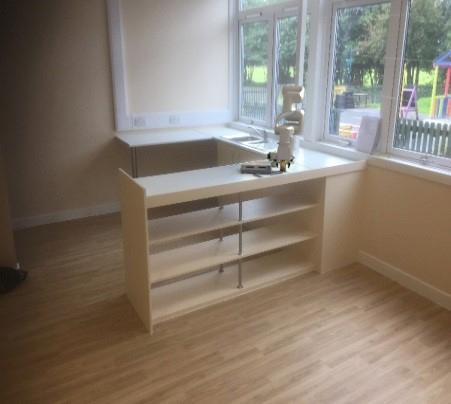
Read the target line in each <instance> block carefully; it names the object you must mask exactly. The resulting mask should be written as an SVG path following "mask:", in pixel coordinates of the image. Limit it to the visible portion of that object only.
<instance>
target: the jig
mask: <svg viewBox="0 0 451 404" xmlns="http://www.w3.org/2000/svg"><path fill="white" fill-rule="evenodd" d="M272 171H273V170H272V166H271V164H270V165H269V164H268V165H267V164H266V165H265V164H263V165H262V164H240V174H244V175H245V174H246V175H248V174H249V175H251V174H252V175H256V174H255V173H260V174H259V175H272V174H273V172H272Z"/></svg>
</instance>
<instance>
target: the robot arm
mask: <svg viewBox="0 0 451 404" xmlns="http://www.w3.org/2000/svg"><path fill="white" fill-rule="evenodd" d="M281 96H282V98H283V99H282V107H281V109H282V110H281V112H280V113H279V114H278V115H277V116H276V118H275V120H274V127H273V128H274V131H273V132H274V135H276V136H279V137H278V139H279V140H278V141H277V142H276V145H277V150H276V152H277V154H276V155H274V156H273V157H272V158H273V159H274V161H275V162H276V169H279V163H280V161H279V160H286V165H287V168H288V169H290V168H291V164H294V163H295V160H294V159H296V157H295V156H294V144H295V141H294V138H293V137H292V136H302V135H303V134H304V131H305V116H306V115H305V111H304V109H302V108H296V107H297V106H296V105H297V104H302V103H303V101H304V97H305V87H304V86H303V85H284V86H282V87H281ZM283 119H284V120H285V121H286V122H284V123H282V124H279V123H280V122H281V121H282V120H283ZM297 122H298V123H297ZM276 156H277V160H276V159H275V157H276Z"/></svg>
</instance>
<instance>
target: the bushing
mask: <svg viewBox="0 0 451 404" xmlns="http://www.w3.org/2000/svg"><path fill="white" fill-rule="evenodd" d="M281 171H282V173H283V172H284V173H285V172H286V171H287V164H286V160H280V162H279V172H281Z"/></svg>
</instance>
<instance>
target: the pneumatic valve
mask: <svg viewBox="0 0 451 404" xmlns="http://www.w3.org/2000/svg"><path fill="white" fill-rule="evenodd" d="M276 154H277V150H274V151H268V153H266V159H267V160H268V162H270V166H271V167H273V168H275V167H276V162H275V161H274V159H273V158H272V157H273V156H274V155H276ZM275 159H276V160H277V156H276V157H275ZM279 161H280V160H279ZM279 161H278V162H279ZM276 168H277V167H276Z"/></svg>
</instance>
